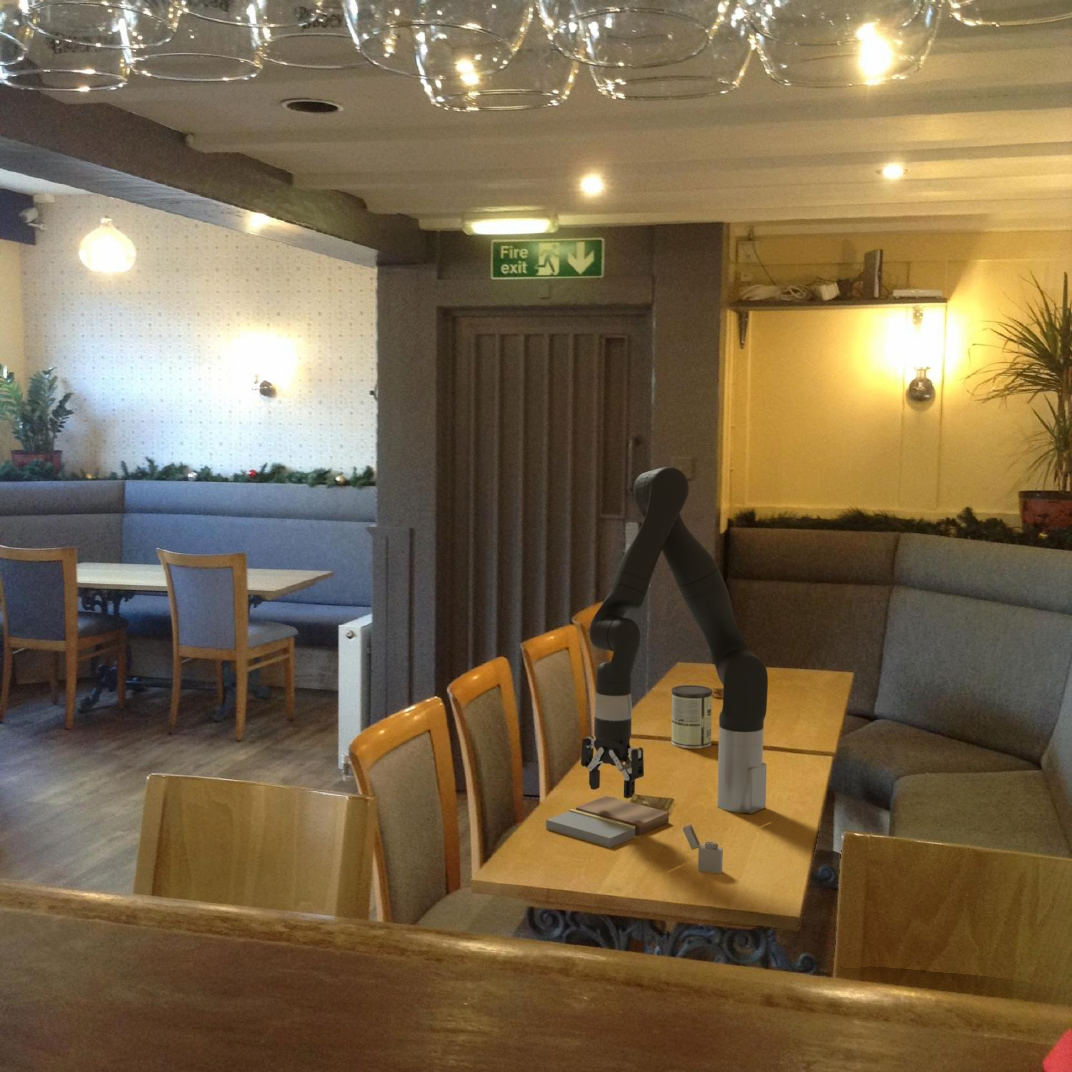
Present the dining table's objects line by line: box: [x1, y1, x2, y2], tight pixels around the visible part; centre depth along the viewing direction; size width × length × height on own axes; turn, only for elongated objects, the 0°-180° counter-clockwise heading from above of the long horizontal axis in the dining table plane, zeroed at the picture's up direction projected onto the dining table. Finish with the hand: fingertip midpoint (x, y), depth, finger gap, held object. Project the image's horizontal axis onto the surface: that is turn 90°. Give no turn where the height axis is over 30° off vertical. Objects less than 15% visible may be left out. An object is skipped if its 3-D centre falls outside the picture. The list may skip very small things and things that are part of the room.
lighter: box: [682, 823, 724, 875], centre depth 213 cm, size 7×2×8 cm, turn 71°
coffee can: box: [670, 684, 714, 750], centre depth 300 cm, size 10×10×14 cm
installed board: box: [545, 808, 636, 849], centre depth 232 cm, size 16×8×2 cm, turn 49°
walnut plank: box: [575, 795, 670, 836], centre depth 240 cm, size 16×10×2 cm, turn 49°
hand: (611, 793), depth 239 cm, fingers open, 8 cm apart
